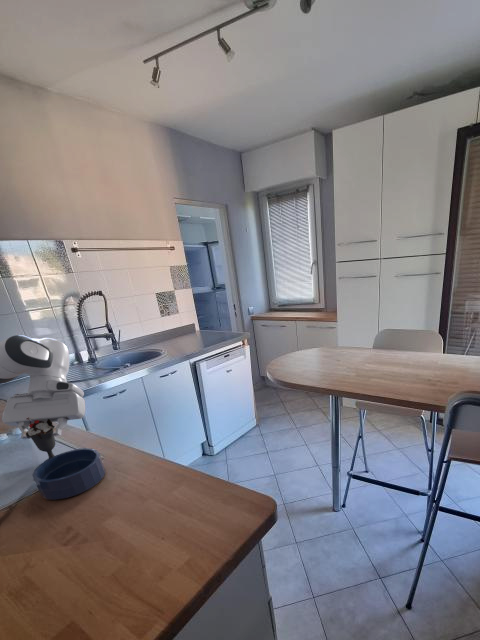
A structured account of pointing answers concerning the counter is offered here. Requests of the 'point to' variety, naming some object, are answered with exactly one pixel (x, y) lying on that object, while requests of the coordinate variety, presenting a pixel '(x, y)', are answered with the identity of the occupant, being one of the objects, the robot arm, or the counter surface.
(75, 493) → the basin
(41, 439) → the sundae
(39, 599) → the counter surface
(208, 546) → the counter surface
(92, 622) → the counter surface
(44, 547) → the counter surface
